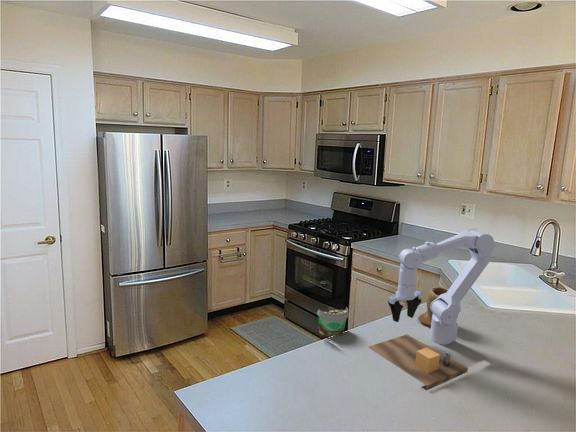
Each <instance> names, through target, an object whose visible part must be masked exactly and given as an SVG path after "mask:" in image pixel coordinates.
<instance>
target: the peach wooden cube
mask: <svg viewBox="0 0 576 432" xmlns="http://www.w3.org/2000/svg"><path fill="white" fill-rule="evenodd" d="M439 358H440V354H438V353H436V352H434V351H432V350H431V349H429V348H424V349H421V350H418V351H416V360H415V366H417V367H418V368H420V369H422V370H423V371H425V372H426V373H430V372H432V371H435V370H437V369H438V366H439Z"/></svg>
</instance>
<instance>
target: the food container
mask: <svg viewBox="0 0 576 432" xmlns="http://www.w3.org/2000/svg"><path fill="white" fill-rule="evenodd" d="M316 315H317V316H318V331H319V332H318V335H320V337H323V338H324V339H325V338H326V339H329V340H331V337H329V336H333V337H334V336H335V337H336V336H340V335H342V334H343V333H345V328H346V322H347V318H349V316H350V314H349V309H348V307H347V306H346V307H345V308H343V309H328V310H320V309H318V310H317V312H316Z"/></svg>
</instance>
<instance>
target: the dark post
mask: <svg viewBox="0 0 576 432" xmlns="http://www.w3.org/2000/svg"><path fill="white" fill-rule="evenodd" d="M443 354H444V358H443V365H444V366H446V367H448V366H449V365H450V358H451V354H449V353H443Z"/></svg>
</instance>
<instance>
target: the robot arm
mask: <svg viewBox="0 0 576 432" xmlns="http://www.w3.org/2000/svg"><path fill="white" fill-rule="evenodd" d="M460 247H464V248H468V250H469V253H470V254H469V255H470V259H469V261H468V262H467V264H466V265H465V267H464V268H463V269H461V272H460V273H459V274H458V276H457V277H456V279H455V280H454V282H453V283H452V284H451V285H450V287H449V288H448V291H447V293H444V294H441V295H440V296H439V297H438V298H437V299H435V300H434V301H432V303H431V305H430V310H431V312H432V313H433V314H432V322H431V326H430V332H429V339H430V341H432V342H433V343H435V344H439V345H449V344H451V343H452V342H457V336H458V329H459V327H458V324H457V319H458V316H459V314H460V312H461V311H462V308H461V302H462V300H463V299H464V297H465V296H466V295H467V293H468V292H469V290H470V289H471V288H472V287H473V286H474V284H475V283H476V281H477V280H478V279H479V277H480V275H481V274H482V273H483V271H484V270H485V269H486V268H487V266H488V264H489V263H490V261H491V257H492V253H493V251H494V249H495V248H496V243H495V240H494V237H493V236H492V235H490V234H489V233H485V232H483V231H480V230H478V229H475V228H469V229H467V230H463V231H461V232H460V233H458V234H456V235H453V236H451V237H449V238H446V239H443V240H441V241H439V242H437V243H435V242H433V241H425V242H424V243H423V244H421V245H419V246H412V248H404V249H403V250H401V251H400V253H399V255H398V256H397V259H398V261H399V262H400V265H399V266H400V267H399V273H398V281H397V282H398V284H397V290H396V291H395V294H393V295H392V296H389V297H388V301H387V304H388V305H389V309H390V311H391V316H392V320H393V322H395V323H399V322H400V318H401V313H402V310H403V309H404V307H405V306H404V305H402V304H401V302H403V301H406V304H407V305H406V307H407V309H406V315H407V317H409V318H411V319H413V318H414V317H415V313H416V312H417V309H418V307H419V306H420V304H421V303H422V299H420V298H421V296H422V292H421V291H418V290H415V288H416V282H417V280H416V279H417V273H418V272H417V270H418V268H419V267H420V265H421V264H423V263H426V262H428V261H430V260H431V261H432V260H433V259H436V258H437V259H438V257H439V256H440V254H441V253H443V252H447V251H451V250H453V249H456V248H460Z"/></svg>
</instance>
